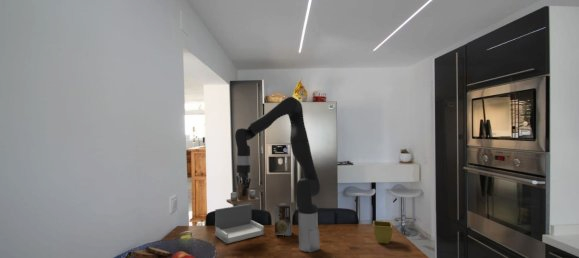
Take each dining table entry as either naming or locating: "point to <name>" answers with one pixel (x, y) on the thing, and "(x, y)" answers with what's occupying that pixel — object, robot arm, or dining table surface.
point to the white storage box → (236, 224)
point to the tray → (242, 199)
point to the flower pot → (383, 231)
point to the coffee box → (283, 219)
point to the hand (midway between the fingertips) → (243, 195)
